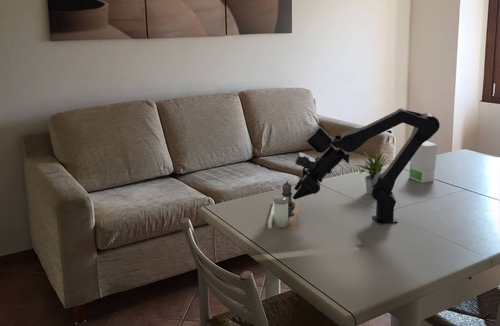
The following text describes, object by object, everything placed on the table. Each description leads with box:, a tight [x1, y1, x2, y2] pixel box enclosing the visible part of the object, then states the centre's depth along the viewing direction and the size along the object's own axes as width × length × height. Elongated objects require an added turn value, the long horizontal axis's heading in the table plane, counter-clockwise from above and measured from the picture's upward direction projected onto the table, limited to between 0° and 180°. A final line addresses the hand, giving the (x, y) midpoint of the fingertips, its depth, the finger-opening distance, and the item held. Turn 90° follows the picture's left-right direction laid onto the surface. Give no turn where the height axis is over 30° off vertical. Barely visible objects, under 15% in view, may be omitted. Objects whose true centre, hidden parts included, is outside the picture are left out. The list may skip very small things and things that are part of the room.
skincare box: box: [408, 140, 438, 184], centre depth 221 cm, size 8×7×16 cm
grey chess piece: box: [281, 180, 296, 217], centre depth 184 cm, size 6×6×12 cm
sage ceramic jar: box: [272, 195, 289, 227], centre depth 175 cm, size 5×5×9 cm
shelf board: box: [271, 201, 301, 230], centre depth 186 cm, size 9×25×1 cm, turn 172°
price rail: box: [267, 195, 278, 229], centre depth 186 cm, size 1×25×3 cm, turn 172°
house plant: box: [355, 150, 389, 196], centre depth 207 cm, size 14×14×16 cm
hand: (294, 193), depth 183 cm, fingers open, 9 cm apart
